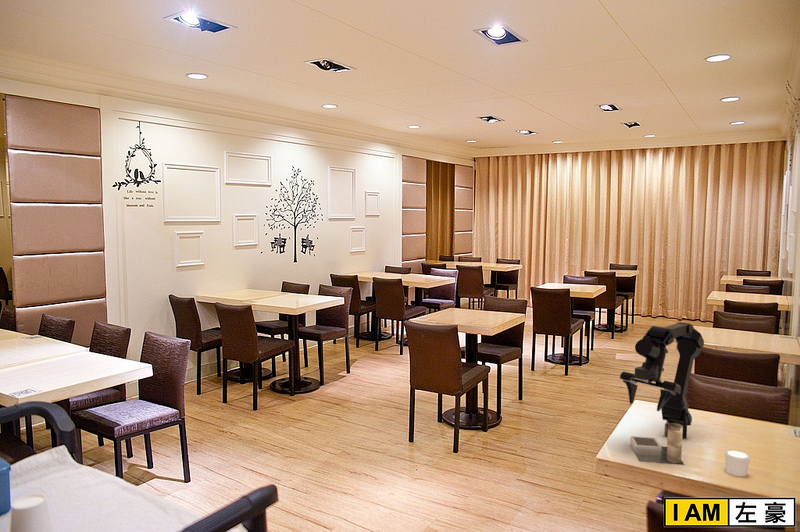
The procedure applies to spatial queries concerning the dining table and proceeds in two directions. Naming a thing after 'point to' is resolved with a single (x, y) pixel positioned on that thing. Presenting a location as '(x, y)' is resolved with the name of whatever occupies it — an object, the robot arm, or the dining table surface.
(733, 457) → the white cylinder
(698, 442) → the dining table surface
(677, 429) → the beige wooden block
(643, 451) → the dock plate
